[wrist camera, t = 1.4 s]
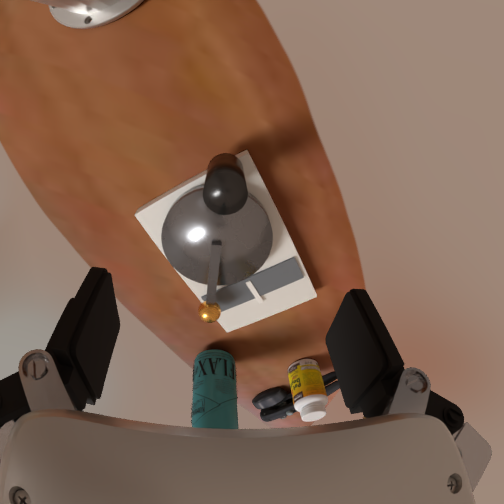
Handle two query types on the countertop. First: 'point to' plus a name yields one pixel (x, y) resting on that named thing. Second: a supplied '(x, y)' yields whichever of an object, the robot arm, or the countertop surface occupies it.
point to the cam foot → (217, 232)
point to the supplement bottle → (307, 389)
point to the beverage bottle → (214, 391)
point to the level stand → (260, 283)
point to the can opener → (285, 400)
